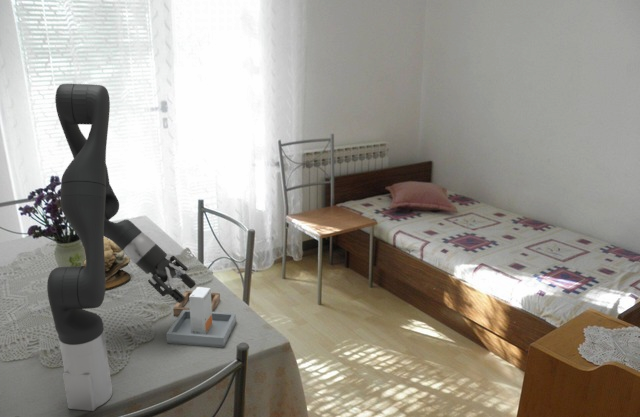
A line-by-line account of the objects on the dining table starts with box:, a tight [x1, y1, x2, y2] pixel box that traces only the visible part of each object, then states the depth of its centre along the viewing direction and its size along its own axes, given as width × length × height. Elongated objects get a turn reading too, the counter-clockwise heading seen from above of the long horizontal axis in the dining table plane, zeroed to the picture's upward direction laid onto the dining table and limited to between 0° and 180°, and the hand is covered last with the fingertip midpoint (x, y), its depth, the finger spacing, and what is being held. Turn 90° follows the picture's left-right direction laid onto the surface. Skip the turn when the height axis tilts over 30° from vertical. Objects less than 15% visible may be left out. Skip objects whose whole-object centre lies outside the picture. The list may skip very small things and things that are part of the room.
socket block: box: [172, 290, 221, 317], centre depth 161 cm, size 11×11×2 cm
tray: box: [166, 310, 237, 348], centre depth 148 cm, size 13×16×3 cm
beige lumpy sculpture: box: [83, 236, 132, 292], centre depth 174 cm, size 18×12×17 cm, turn 129°
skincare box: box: [188, 286, 212, 335], centre depth 147 cm, size 6×4×12 cm
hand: (188, 293), depth 145 cm, fingers open, 8 cm apart
